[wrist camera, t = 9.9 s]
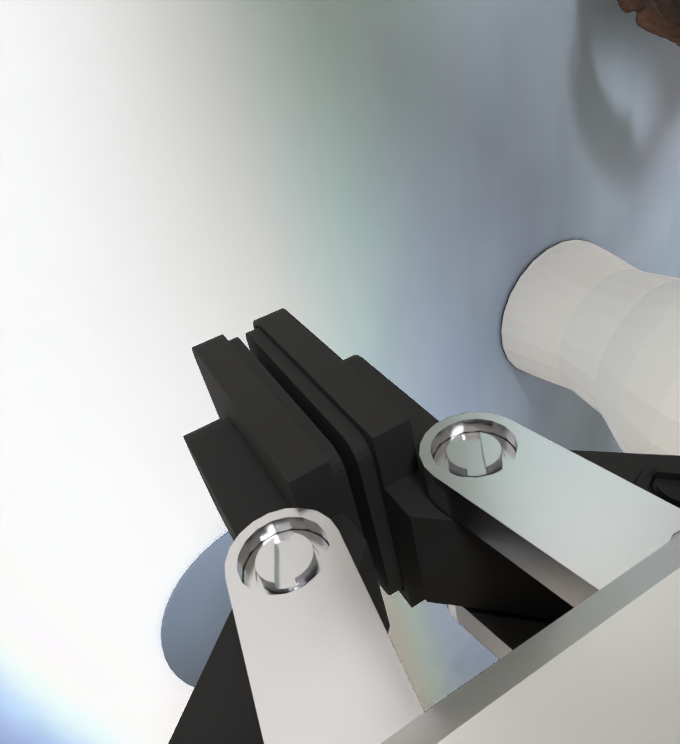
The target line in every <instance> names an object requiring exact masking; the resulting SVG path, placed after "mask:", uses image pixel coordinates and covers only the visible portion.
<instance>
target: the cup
mask: <svg viewBox="0 0 680 744" xmlns="http://www.w3.org/2000/svg"><path fill="white" fill-rule="evenodd" d="M501 333H502V344H503V348H504V351H505V353H506V356H507V358H508V360H509V361H510V362H511V363H512V364H513V365H514V366H515V367H516V368H518V369H520V370H522V371H524V372H527V373H529V374H531V375H534V376H536V377H538V378H541V379H543V380H546V381H548V382H551V383H554V384H557V385H560V386H562V387H565V388H568V389H571V390H572V391H574V392H575V393H576V394H577V395H578V396H580V397H581V398H582V399H583V400H585V401H586V402H587V403H588V404H589V405H591V406H592V407H593V408H594V409H596V410H597V411H598V412H599V413H600V414H602V416H603V418H604V420H605V421H606V423H607V425H608V427H609V429H610V430H611V432H612V434H613V436H614V438H615V440H616V441H617V443H618V445H619V447H620V448H621V450H622V451H623V452H624V453H637V454H658V455H678V456H680V278H676V277H671V276H665V275H660V274H655V273H650V272H644V271H640V270H639V269H637V268H635V267H634V266H632V265H630V264H629V263H627V262H625V261H624V260H622V259H620V258H619V257H617V256H615V255H613V254H612V253H610V252H608V251H607V250H605V249H603V248H601V247H599V246H597V245H595V244H593V243H591V242H588V241H582V240H577V239H576V240H570V241H565V242H561V243H559V244H557V245H555V246H553V247H551V248H549V249H547V250H546V251H545V252H544V253H543V254H541V255H540V256H539V257H538V258H537V259H535V260H534V261H533V262H532V263H531V264H530V266H529V267H528V268H527V269H526V271H525V272H524V273H523V274H522V275H521V277H520V278H519V280H518V282H517V284H516V285H515V287H514V289H513V291H512V293H511V294H510V297H509V300H508V303H507V305H506V308H505V311H504V315H503V322H502V330H501Z"/></svg>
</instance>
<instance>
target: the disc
mask: <svg viewBox="0 0 680 744" xmlns="http://www.w3.org/2000/svg"><path fill="white" fill-rule="evenodd" d="M233 542H234V541H233V539H232V537H231V535H230V533H229V532H227V533H226V534H225V535H223V536H222V537H221V538H219V539H218V540H217V541H215V542H214V543H213V544H212V545H211V546H210V547H209V548H207V549H206V550H205V551H204V552H203V553H202V554H201V555H200V556H199V557H198V558H197V559H196V561H195V562H194V563H193V564H192V565H191V566H190V567H189V569H188V570H187V571H186V573H185V574H184V575H183V577H182V578H181V579H180V581H179V583H178V584H177V586H176V588H175V589H174V591H173V593H172V595H171V597H170V599H169V602H168V604H167V606H166V610H165V613H164V617H163V620H162V628H161V642H162V648H163V652H164V655H165V659H166V661H167V663H168V665H169V666H170V668H171V670H172V671H173V672H174V673H175V674H176V675H177V677H179V678H180V679H181V680H183V681H184V682H185V683H187V684H189V685H191V686H193V687H195V686H196V684H197V682H198V680H199V678H200V675H201V673H202V671H203V669H204V667H205V665H206V663H207V661H208V658H209V656H210V654H211V652H212V650H213V648H214V646H215V644H216V641H217V639H218V637H219V635H220V633H221V631H222V629H223V627H224V624H225V622H226V620H227V618H228V616H229V614H230V612H231V610H232V605H231V600H230V596H229V592H228V588H227V583H226V579H225V561H226V558H227V555H228V551H229V548H230V547H231V545H232V544H233ZM378 584H379V583H378ZM379 587H380V584H379Z"/></svg>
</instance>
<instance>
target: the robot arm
mask: <svg viewBox="0 0 680 744" xmlns="http://www.w3.org/2000/svg"><path fill="white" fill-rule="evenodd" d="M253 325H254V330H252V331H250V332H248V333H246V339H247V342H248V345H249V348H250V350H249V349H248V348H247V347H246V346H245V344H244V343H243V342H242V341H241V340H240V339H239V338H238V337H236V338H234V339H232V340H229V341H228V340H227V339H226V337H225V336H224V335H223V334H222V335H220V336H217V337H215V338H213V339H211V340H208V341H206V342H204V343H201V344H199V345H197V346H194V347H192V350H193V354H194V356H195V359H196V362H197V364H198V366H199V369H200V371H201V374H202V376H203V379H204V381H205V384H206V386H207V388H208V391H209V393H210V396H211V398H212V401H213V403H214V406H215V408H216V411H217V413H218V415H219V418H220V419H218V420H216V421H214V422H212V423H210V424H208V425H206V426H204V427H202V428H199V429H197V430H195V431H193V432H191V433H189V434H187V435H185V436H183V437H184V439H185V442H186V444H187V446H188V448H189V451H190V453H191V455H192V457H193V459H194V461H195V464H196V466H197V468H198V470H199V472H200V474H201V476H202V479H203V481H204V483H205V485H206V487H207V489H208V491H209V493H210V495H211V497H212V499H213V501H214V503H215V505H216V507H217V510H218V511H219V513H220V515H221V517H222V519H223V521H224V523H225V525H226V527H227V529H228V531H229V533H230V535H231V537H232V539H233V541H234V542H233V544H232V545H231V547H230V548H229V551H228V555H227V558H226V561H225V579H226V583H227V588H228V592H229V596H230V600H231V605H232V610H231V612H230V614H229V616H228V618H227V620H226V622H225V624H224V627H223V629H222V631H221V633H220V635H219V637H218V639H217V641H216V644H215V646H214V648H213V650H212V652H211V654H210V656H209V658H208V661H207V663H206V665H205V667H204V669H203V671H202V673H201V675H200V678H199V680H198V682H197V684H196V686H195V688H194V690H193V692H192V695H191V697H190V699H189V701H188V703H187V705H186V707H185V709H184V712H183V714H182V716H181V718H180V720H179V722H178V724H177V726H176V729H175V731H174V733H173V735H172V737H171V739H170V741H169V743H168V744H680V456H678V455H658V454H637V453H616V452H596V451H575V450H567V449H566V448H564V447H562V446H560V445H558V444H556V443H554V442H552V441H550V440H548V439H547V438H545V437H543V436H541V435H539V434H537V433H535V432H533V431H531V430H529V429H528V428H526V427H524V426H522V425H520V424H518V423H516V422H514V421H512V420H510V419H508V418H505V417H503V416H500V415H497V414H493V413H485V412H468V413H461V414H457V415H454V416H450V417H447V418H445V419H443V420H442V421H440V422H439V421H438V420H437V419H436V418H434V417H433V416H432V415H431V414H430V413H428V412H427V411H426V410H425V409H424V408H422V407H421V406H420V405H419V404H418V403H416V402H415V401H414V400H413V399H411V398H410V397H409V396H408V395H407V394H405V393H404V392H403V391H402V390H401V389H399V388H398V387H397V386H396V385H395V384H393V383H392V382H391V381H390V380H389V379H387V378H386V377H385V376H384V375H382V374H381V373H380V372H379V371H378V370H376V369H375V368H374V367H373V366H372V365H370V364H369V363H368V362H367V361H366V360H364V359H363V358H362V357H360V356H358V355H353V356H351V357H349V358H347V359H345V360H342V359H341V358H340V357H339V356H338V355H337V354H336V353H334V352H333V351H332V350H331V349H330V348H329V347H328V346H326V345H325V344H324V343H323V342H322V341H321V340H320V339H318V338H317V337H316V336H315V335H314V334H313V333H312V332H310V331H309V330H308V329H307V328H306V327H305V326H304V325H302V324H301V323H300V322H299V321H298V320H297V319H296V318H294V317H293V316H292V315H291V314H290V313H289V312H288V311H287V310H285V309H283V308H282V309H280V310H278V311H275V312H273V313H271V314H268V315H266V316H264V317H261V318H259V319H257V320H254V322H253ZM378 583H379V584H380V585H381V587H382V588H383V589H384V591H385V592H386V593H387V594H388V595H391V594H393V593H395V592H396V591H398V590H399V591H400V593H401V594H402V595H403V597H404V598H405V599H406V601H407V602H408V603H409V605H410V606H411V607H414V606H415V605H417V604H418V603H420V602H421V601H423V600H425V599H426V601H427V602H433V603H441V604H447V607H448V610H449V612H450V613H451V614H452V616H453V617H454V618H455V619H456V621H457V622H458V623H459V624H460V625H462V626H463V627H464V628H465V629H466V630H467V631H468V632H469V633H470V634H472V635H473V636H474V637H475V638H476V639H477V640H478V641H479V642H480V643H481V644H483V645H484V646H485V647H486V648H487V649H488V650H489V651H490V652H491V653H493V654H494V655H495V656H496V657H497V658H498V659H499V660H498V661H497V662H496V663H494V664H493V665H491V666H490V667H488V668H487V669H485V670H484V671H483V672H481V673H480V674H478V675H477V676H475V677H474V678H473V679H471V680H470V681H468V682H467V683H465V684H464V685H463V686H461V687H460V688H458V689H457V690H455V691H454V692H453V693H451V694H450V695H448V696H447V697H446V698H444V699H443V700H441V701H440V702H438V703H437V704H436V705H434V706H433V707H431V708H430V709H429V710H427V711H426V712H424V710H423V707H422V705H421V703H420V701H419V699H418V697H417V695H416V693H415V691H414V688H413V686H412V684H411V682H410V680H409V678H408V676H407V674H406V672H405V669H404V667H403V665H402V663H401V661H400V659H399V657H398V655H397V653H396V650H395V648H394V646H393V644H392V642H391V640H390V638H389V636H388V631H389V627H390V624H389V621H388V617H387V613H386V610H385V606H384V602H383V599H382V595H381V591H380V587H379V584H378Z"/></svg>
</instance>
